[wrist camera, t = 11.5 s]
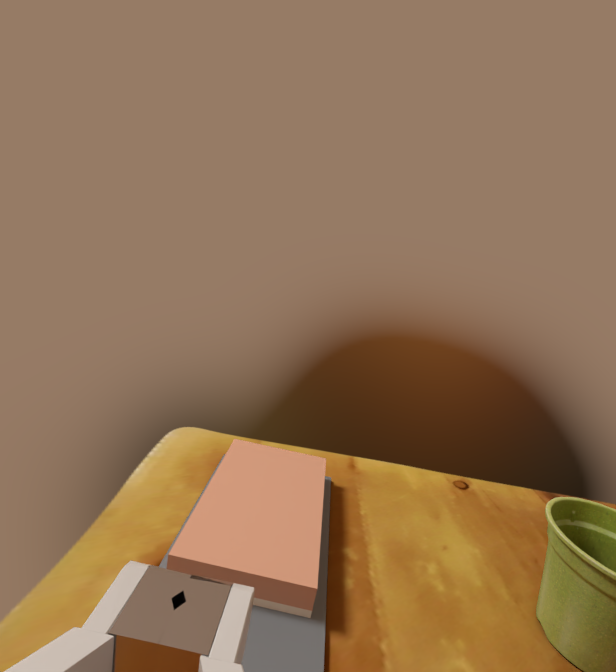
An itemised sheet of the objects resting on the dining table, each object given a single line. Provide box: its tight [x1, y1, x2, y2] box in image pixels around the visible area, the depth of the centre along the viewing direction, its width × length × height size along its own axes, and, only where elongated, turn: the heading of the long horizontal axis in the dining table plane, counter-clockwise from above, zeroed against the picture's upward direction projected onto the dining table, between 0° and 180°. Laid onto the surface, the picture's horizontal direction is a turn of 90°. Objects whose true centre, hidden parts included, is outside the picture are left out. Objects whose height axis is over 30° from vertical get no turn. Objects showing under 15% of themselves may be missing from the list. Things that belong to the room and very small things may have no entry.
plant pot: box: [536, 497, 616, 672], centre depth 27 cm, size 9×9×9 cm
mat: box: [159, 454, 331, 672], centre depth 30 cm, size 22×12×1 cm, turn 175°
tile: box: [166, 439, 326, 618], centre depth 32 cm, size 2×10×16 cm
